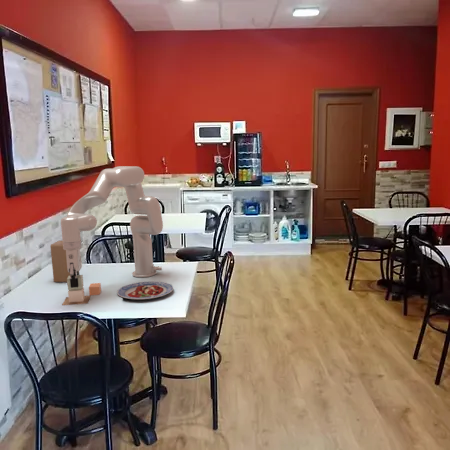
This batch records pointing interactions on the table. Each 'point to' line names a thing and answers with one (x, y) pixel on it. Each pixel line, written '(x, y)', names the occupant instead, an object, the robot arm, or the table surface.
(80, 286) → the sage green brick
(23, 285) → the table surface
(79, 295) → the cream base brick
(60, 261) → the wooden block
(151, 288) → the ceramic plate
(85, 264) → the table surface
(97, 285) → the terracotta brick
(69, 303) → the walnut board
